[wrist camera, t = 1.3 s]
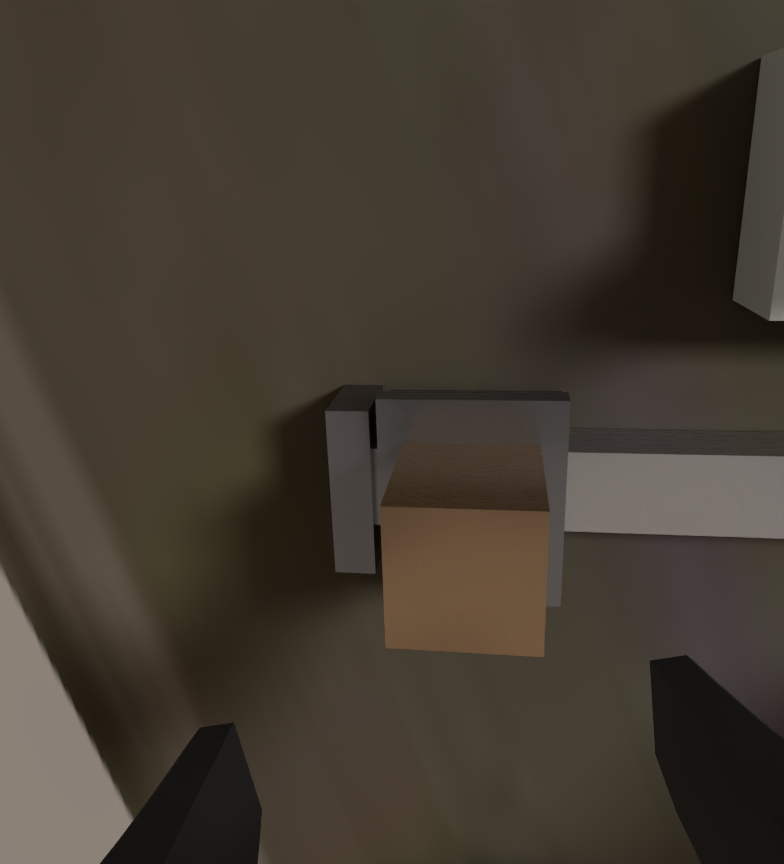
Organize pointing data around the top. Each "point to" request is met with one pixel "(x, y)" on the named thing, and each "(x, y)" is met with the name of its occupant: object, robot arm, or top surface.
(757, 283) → the grey square block
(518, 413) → the carriage
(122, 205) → the top surface
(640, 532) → the rail
